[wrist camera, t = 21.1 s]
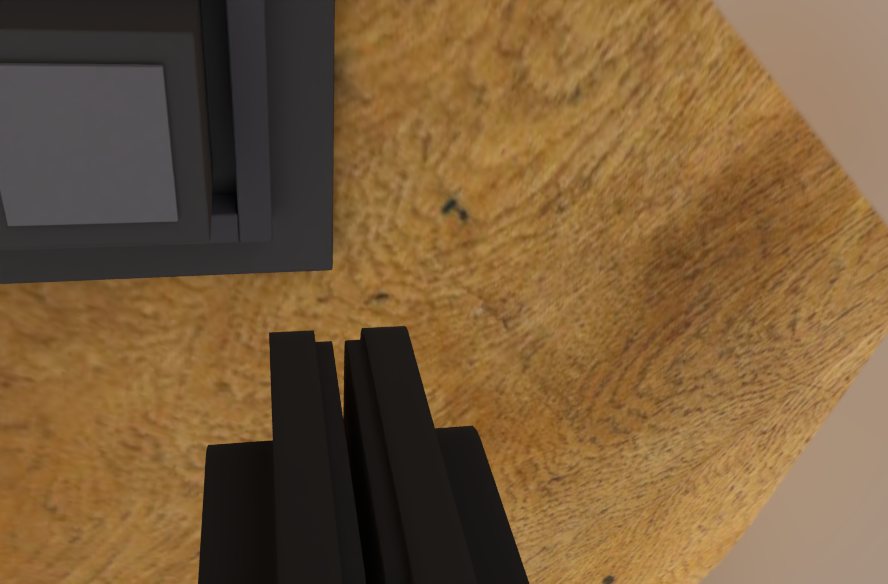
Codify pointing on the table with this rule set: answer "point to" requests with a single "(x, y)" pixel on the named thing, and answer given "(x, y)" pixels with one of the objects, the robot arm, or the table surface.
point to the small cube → (103, 123)
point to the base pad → (241, 156)
